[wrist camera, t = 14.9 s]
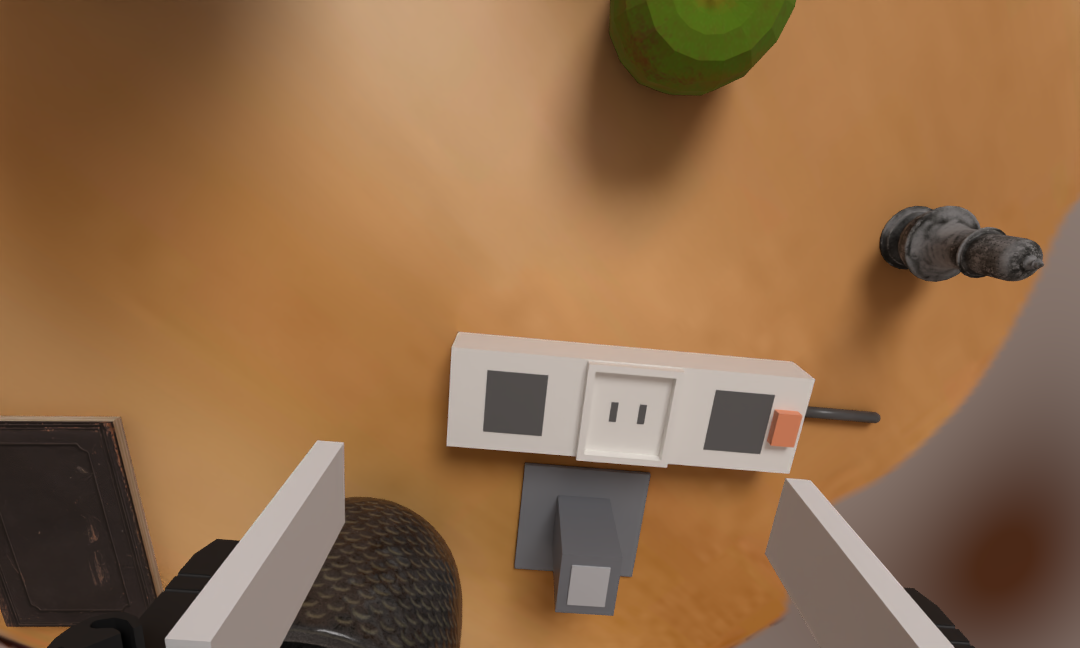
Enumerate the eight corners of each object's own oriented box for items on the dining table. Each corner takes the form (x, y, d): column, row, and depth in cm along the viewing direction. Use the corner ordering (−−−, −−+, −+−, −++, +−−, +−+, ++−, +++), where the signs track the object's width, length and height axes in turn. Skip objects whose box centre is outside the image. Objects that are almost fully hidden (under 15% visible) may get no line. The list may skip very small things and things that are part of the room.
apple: (723, -92, 37) (796, -188, 27) (767, 63, 40) (848, 29, 30) (578, -19, 39) (594, -84, 28) (631, 126, 42) (663, 115, 31)
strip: (453, 423, 49) (445, 450, 44) (458, 331, 46) (450, 350, 42) (861, 457, 51) (894, 486, 46) (889, 370, 48) (926, 392, 43)
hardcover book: (128, 411, 49) (109, 423, 47) (176, 608, 56) (161, 626, 54) (-48, 410, 49) (-75, 422, 47) (22, 608, 56) (1, 627, 53)
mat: (514, 565, 54) (514, 568, 54) (525, 462, 50) (525, 464, 50) (631, 573, 54) (631, 576, 54) (649, 472, 51) (650, 474, 50)
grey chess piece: (861, 240, 44) (976, 268, 33) (919, 187, 43) (1059, 197, 32) (903, 286, 46) (1027, 328, 34) (961, 235, 44) (1109, 262, 33)
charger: (552, 546, 53) (555, 613, 45) (558, 495, 51) (562, 555, 43) (601, 549, 53) (613, 617, 45) (609, 498, 51) (623, 559, 43)
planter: (495, 604, 55) (476, 821, 37) (314, 634, 56) (210, 860, 38) (450, 440, 50) (402, 603, 31) (249, 476, 50) (89, 654, 32)
